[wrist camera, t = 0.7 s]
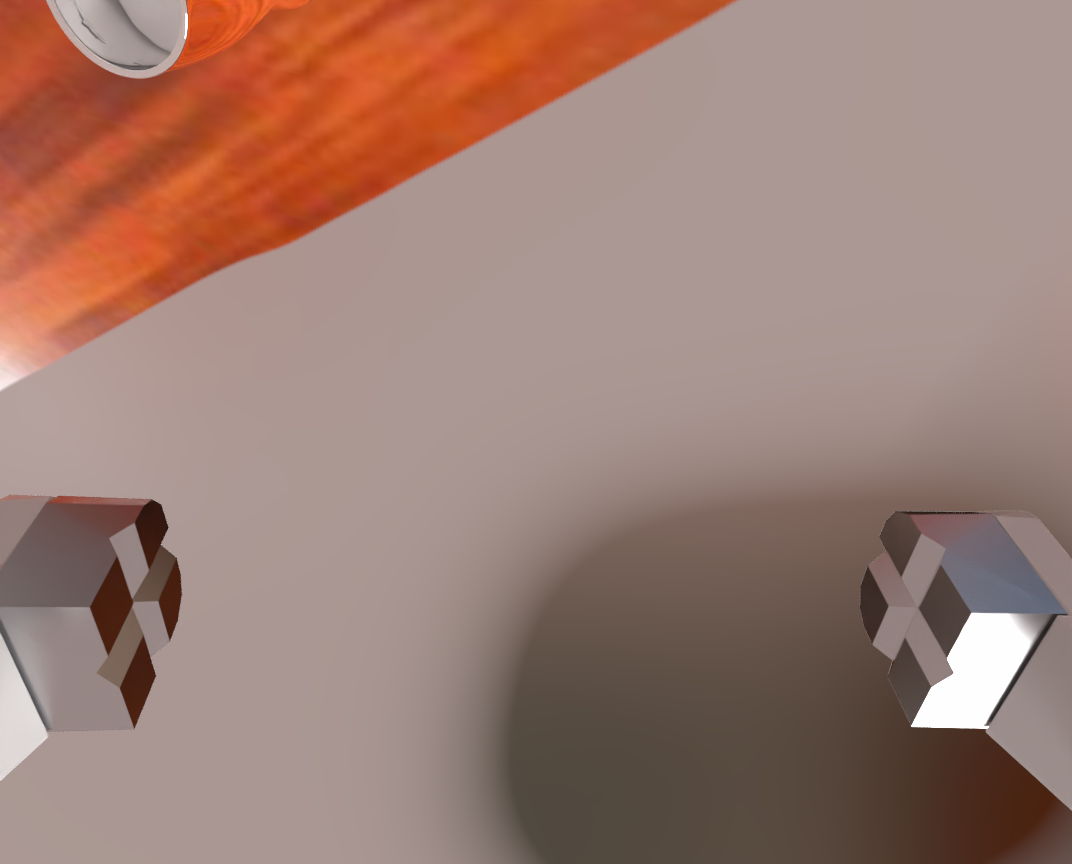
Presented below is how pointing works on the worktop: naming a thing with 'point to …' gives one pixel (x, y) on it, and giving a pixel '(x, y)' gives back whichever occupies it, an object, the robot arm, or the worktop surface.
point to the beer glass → (158, 30)
